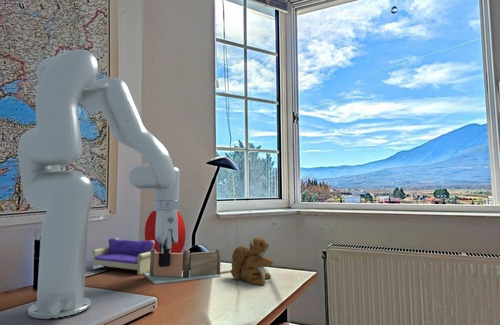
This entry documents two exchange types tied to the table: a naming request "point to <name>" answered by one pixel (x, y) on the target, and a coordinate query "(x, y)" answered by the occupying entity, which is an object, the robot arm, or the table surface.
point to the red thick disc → (151, 232)
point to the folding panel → (171, 270)
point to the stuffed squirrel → (251, 262)
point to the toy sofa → (125, 255)
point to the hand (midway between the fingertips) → (164, 266)
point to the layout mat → (176, 278)
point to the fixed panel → (201, 263)
